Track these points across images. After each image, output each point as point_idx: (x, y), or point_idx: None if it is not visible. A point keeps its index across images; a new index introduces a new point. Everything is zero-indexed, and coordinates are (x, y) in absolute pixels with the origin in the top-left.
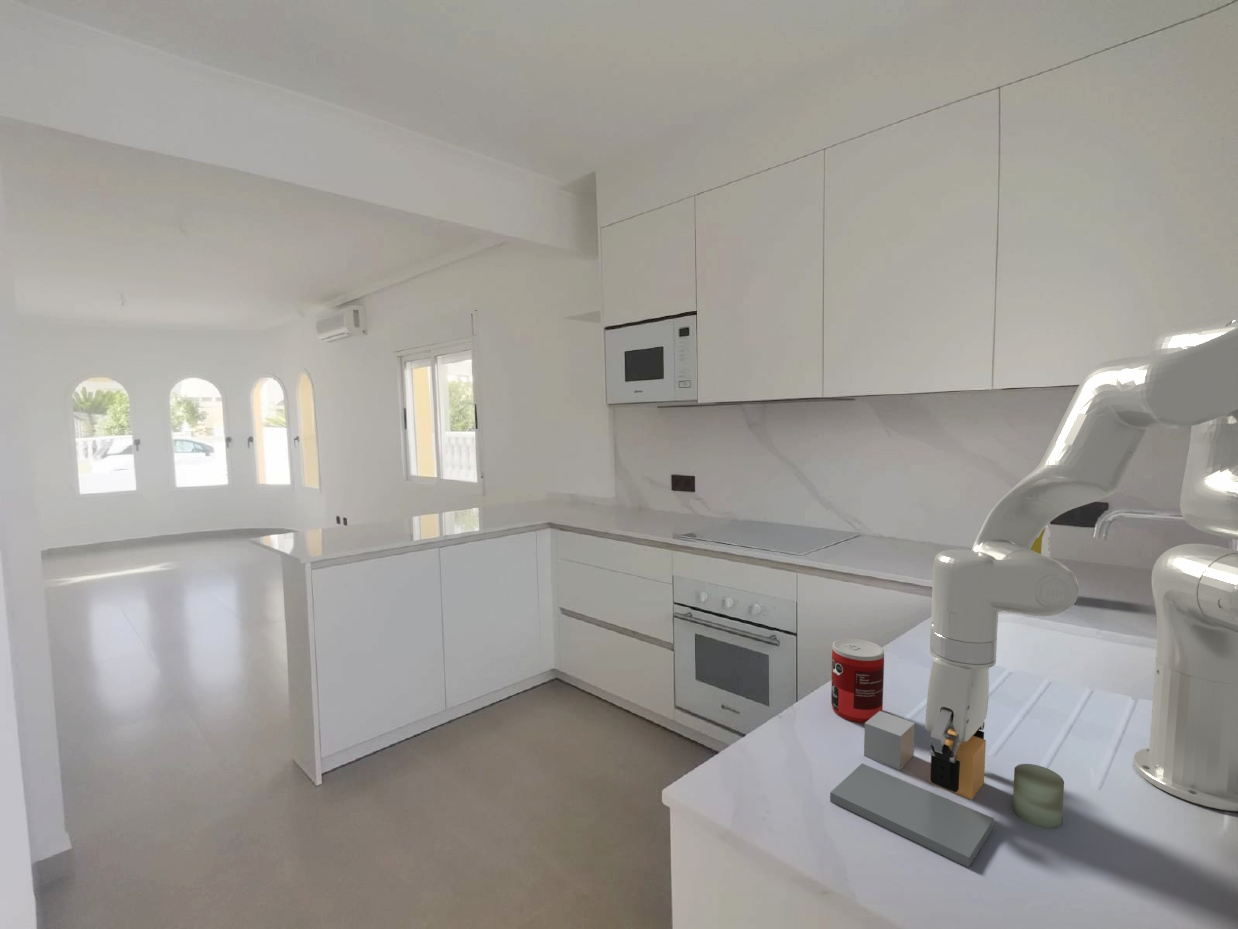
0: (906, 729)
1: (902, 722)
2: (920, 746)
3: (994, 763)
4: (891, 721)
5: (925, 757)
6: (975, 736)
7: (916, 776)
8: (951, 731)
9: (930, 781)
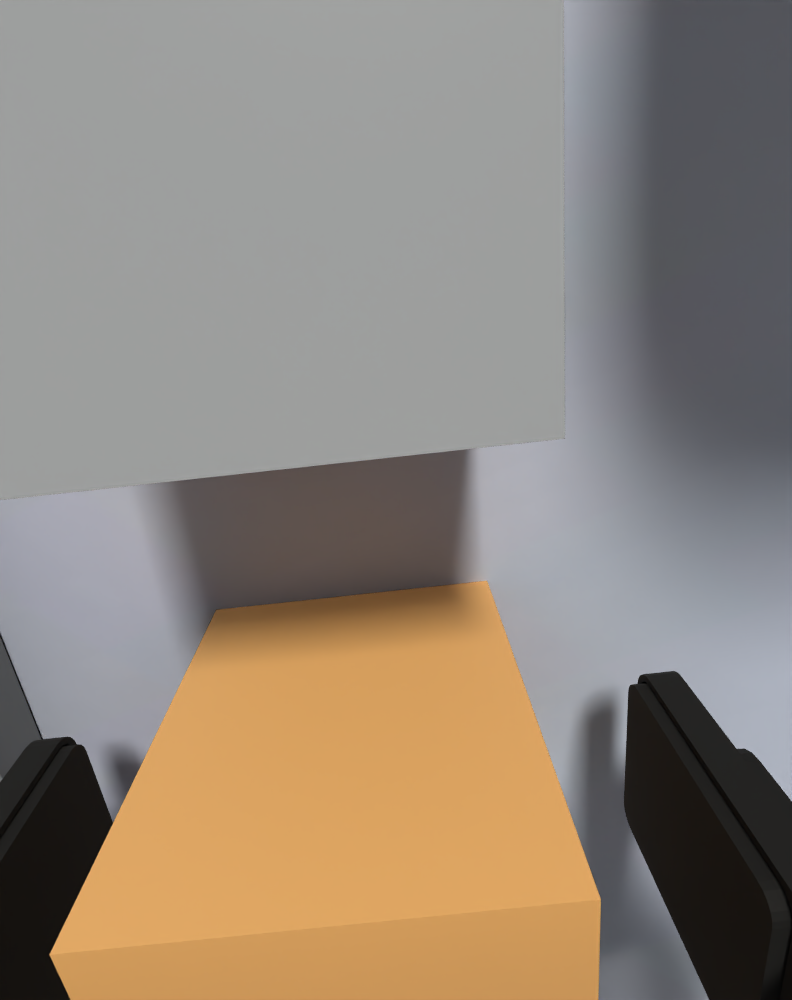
0: (237, 462)
1: (426, 284)
2: (676, 321)
3: (781, 745)
4: (288, 107)
5: None
6: (726, 989)
7: (205, 517)
8: (508, 991)
9: (214, 616)
